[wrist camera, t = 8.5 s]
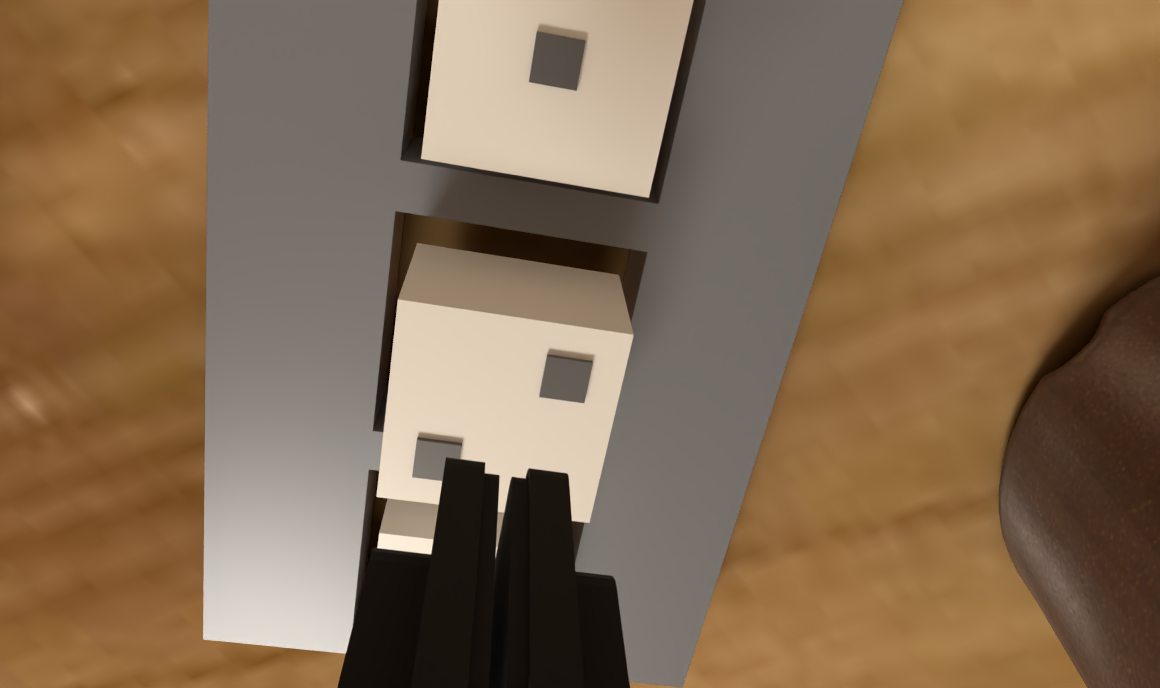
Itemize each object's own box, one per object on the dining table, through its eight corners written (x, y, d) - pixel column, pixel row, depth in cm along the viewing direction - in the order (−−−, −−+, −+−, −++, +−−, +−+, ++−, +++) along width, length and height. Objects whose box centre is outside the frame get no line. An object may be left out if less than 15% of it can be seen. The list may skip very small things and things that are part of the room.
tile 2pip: (619, 275, 18) (634, 337, 15) (581, 443, 19) (589, 526, 17) (417, 243, 17) (396, 301, 15) (396, 418, 19) (375, 500, 16)
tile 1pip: (677, -53, 16) (704, -46, 14) (632, 158, 18) (649, 199, 16) (462, -97, 16) (449, -99, 13) (436, 124, 18) (420, 160, 15)
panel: (883, -68, 17) (924, -66, 15) (671, 631, 25) (682, 687, 23) (247, -205, 16) (210, -220, 14) (228, 583, 23) (203, 639, 21)
